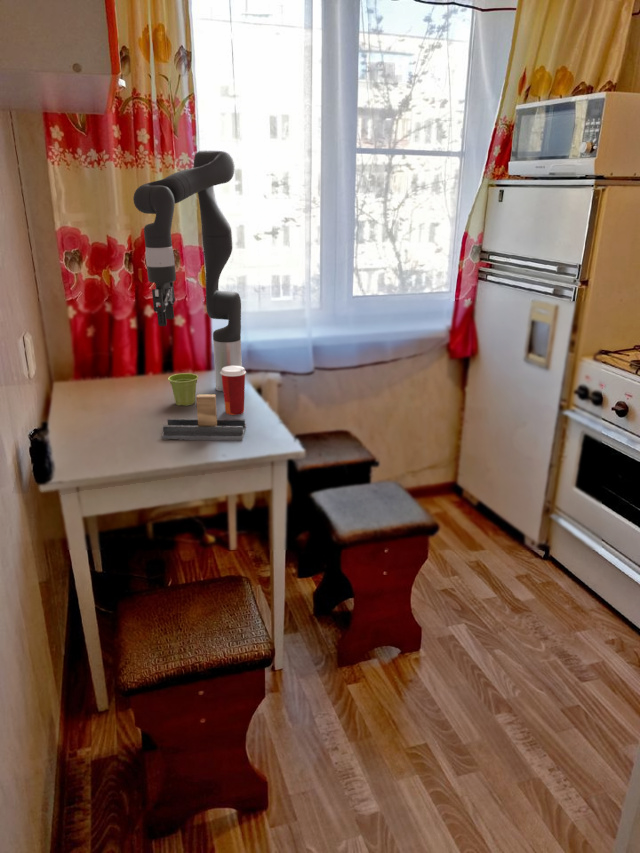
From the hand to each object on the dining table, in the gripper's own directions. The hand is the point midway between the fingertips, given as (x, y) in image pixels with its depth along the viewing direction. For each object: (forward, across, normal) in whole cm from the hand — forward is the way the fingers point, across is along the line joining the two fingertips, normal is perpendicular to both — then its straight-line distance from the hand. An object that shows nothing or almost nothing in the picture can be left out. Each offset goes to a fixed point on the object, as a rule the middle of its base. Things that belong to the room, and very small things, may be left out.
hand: (166, 322), depth 174 cm
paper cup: (+30, +5, -17) cm, 35 cm away
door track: (+29, -13, -11) cm, 34 cm away
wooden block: (+28, -13, -12) cm, 33 cm away
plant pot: (+30, +13, 0) cm, 33 cm away
